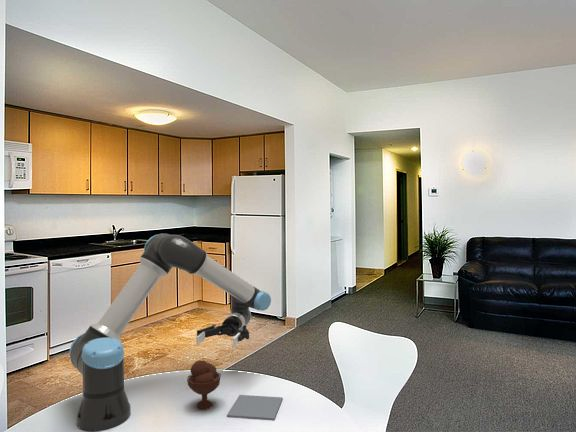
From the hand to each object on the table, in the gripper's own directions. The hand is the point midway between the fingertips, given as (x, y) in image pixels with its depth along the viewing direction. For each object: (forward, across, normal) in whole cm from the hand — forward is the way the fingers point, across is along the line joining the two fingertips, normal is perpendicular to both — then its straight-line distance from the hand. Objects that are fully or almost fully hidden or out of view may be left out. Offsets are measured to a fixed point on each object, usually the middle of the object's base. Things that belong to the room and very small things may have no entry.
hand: (215, 341), depth 142 cm
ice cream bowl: (+11, 0, -18) cm, 21 cm away
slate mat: (+10, -17, -18) cm, 26 cm away
